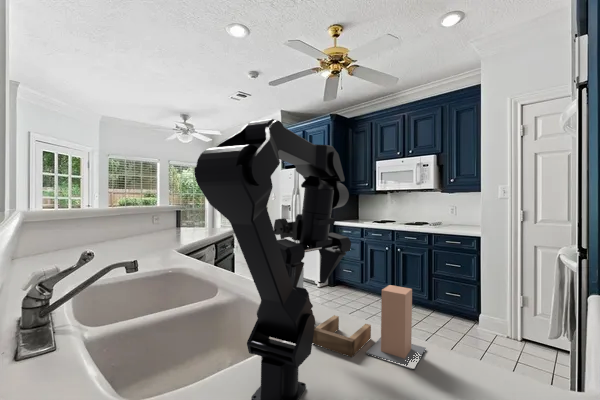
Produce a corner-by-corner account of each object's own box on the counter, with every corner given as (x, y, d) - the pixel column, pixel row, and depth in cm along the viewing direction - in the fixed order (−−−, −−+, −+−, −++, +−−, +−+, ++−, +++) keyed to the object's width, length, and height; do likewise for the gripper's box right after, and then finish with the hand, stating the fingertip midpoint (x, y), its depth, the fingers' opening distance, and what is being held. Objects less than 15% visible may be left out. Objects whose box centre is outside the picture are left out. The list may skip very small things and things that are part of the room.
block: (404, 358, 55) (405, 294, 55) (380, 351, 58) (381, 290, 58) (411, 348, 59) (412, 288, 59) (388, 342, 62) (389, 284, 62)
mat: (414, 370, 52) (414, 367, 52) (366, 354, 57) (366, 352, 57) (425, 349, 60) (425, 347, 60) (382, 337, 65) (382, 335, 65)
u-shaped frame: (351, 357, 56) (352, 341, 56) (312, 343, 62) (312, 329, 62) (370, 338, 64) (370, 324, 64) (334, 328, 69) (334, 315, 69)
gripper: (317, 203, 70) (309, 266, 72) (253, 205, 57) (246, 282, 59) (356, 212, 62) (347, 283, 64) (293, 216, 49) (283, 305, 51)
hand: (307, 287), depth 60 cm, fingers open, 9 cm apart
